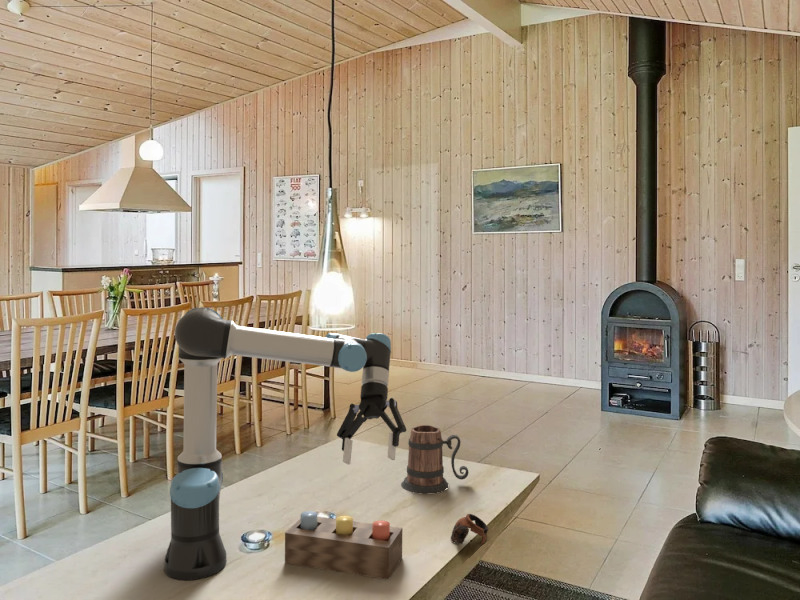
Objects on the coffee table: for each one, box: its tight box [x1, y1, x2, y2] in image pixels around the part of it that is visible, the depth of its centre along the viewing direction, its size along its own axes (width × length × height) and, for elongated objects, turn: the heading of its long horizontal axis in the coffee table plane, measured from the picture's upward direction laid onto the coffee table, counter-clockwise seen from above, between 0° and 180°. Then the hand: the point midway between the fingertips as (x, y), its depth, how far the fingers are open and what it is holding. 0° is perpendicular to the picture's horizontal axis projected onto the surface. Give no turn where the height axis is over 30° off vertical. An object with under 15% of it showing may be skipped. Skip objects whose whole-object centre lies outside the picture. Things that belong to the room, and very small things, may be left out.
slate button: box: [300, 510, 318, 531], centre depth 166 cm, size 4×4×4 cm
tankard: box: [400, 424, 469, 495], centre depth 219 cm, size 24×17×20 cm
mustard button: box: [335, 515, 354, 536], centre depth 163 cm, size 4×4×4 cm
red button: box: [371, 519, 391, 541], centre depth 160 cm, size 4×4×4 cm
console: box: [284, 516, 403, 580], centre depth 164 cm, size 28×12×8 cm, turn 74°
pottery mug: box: [450, 513, 489, 546], centre depth 175 cm, size 12×10×8 cm
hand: (368, 461), depth 165 cm, fingers open, 13 cm apart
